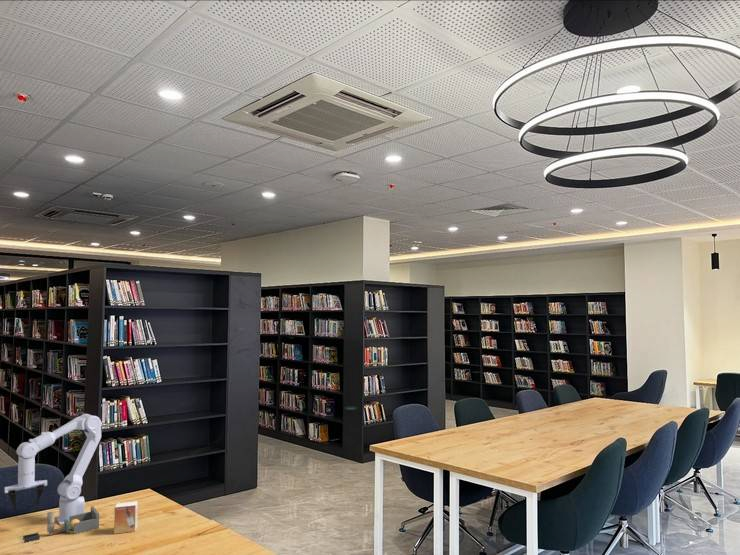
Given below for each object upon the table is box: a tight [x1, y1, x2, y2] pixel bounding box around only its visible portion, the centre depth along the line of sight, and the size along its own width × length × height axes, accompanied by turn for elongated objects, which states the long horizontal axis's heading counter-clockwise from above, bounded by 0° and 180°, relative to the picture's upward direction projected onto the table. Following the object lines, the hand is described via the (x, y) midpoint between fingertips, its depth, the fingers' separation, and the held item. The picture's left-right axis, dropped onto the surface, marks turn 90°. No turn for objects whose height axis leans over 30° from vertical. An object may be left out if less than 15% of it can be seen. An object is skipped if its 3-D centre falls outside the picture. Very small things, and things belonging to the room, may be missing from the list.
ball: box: [70, 519, 80, 531], centre depth 223 cm, size 4×4×4 cm
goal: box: [69, 505, 100, 535], centre depth 225 cm, size 9×11×6 cm
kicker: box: [46, 511, 71, 536], centre depth 220 cm, size 8×6×8 cm
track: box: [22, 532, 41, 544], centre depth 214 cm, size 5×4×1 cm
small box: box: [113, 500, 139, 535], centre depth 221 cm, size 8×6×10 cm
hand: (25, 507), depth 222 cm, fingers open, 7 cm apart
